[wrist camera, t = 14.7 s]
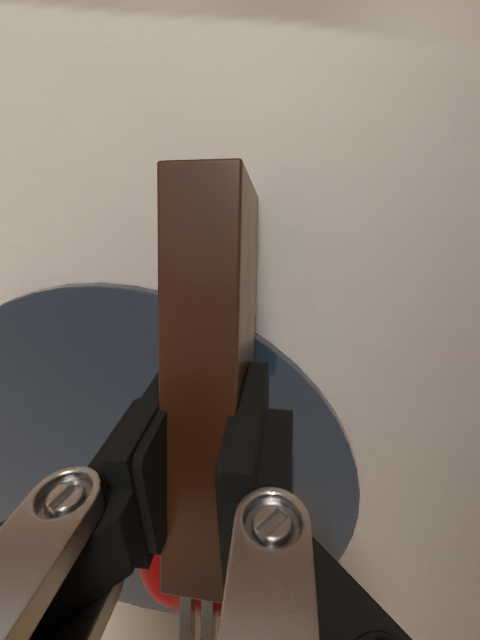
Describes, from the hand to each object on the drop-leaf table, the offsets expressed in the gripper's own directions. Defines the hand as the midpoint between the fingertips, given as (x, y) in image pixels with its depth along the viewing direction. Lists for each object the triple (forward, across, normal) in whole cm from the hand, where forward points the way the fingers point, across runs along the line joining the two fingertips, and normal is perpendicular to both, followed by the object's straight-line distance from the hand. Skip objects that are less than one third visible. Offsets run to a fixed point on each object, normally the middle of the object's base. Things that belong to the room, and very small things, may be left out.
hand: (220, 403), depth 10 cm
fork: (0, 0, +2) cm, 2 cm away
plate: (+2, +4, +7) cm, 8 cm away
